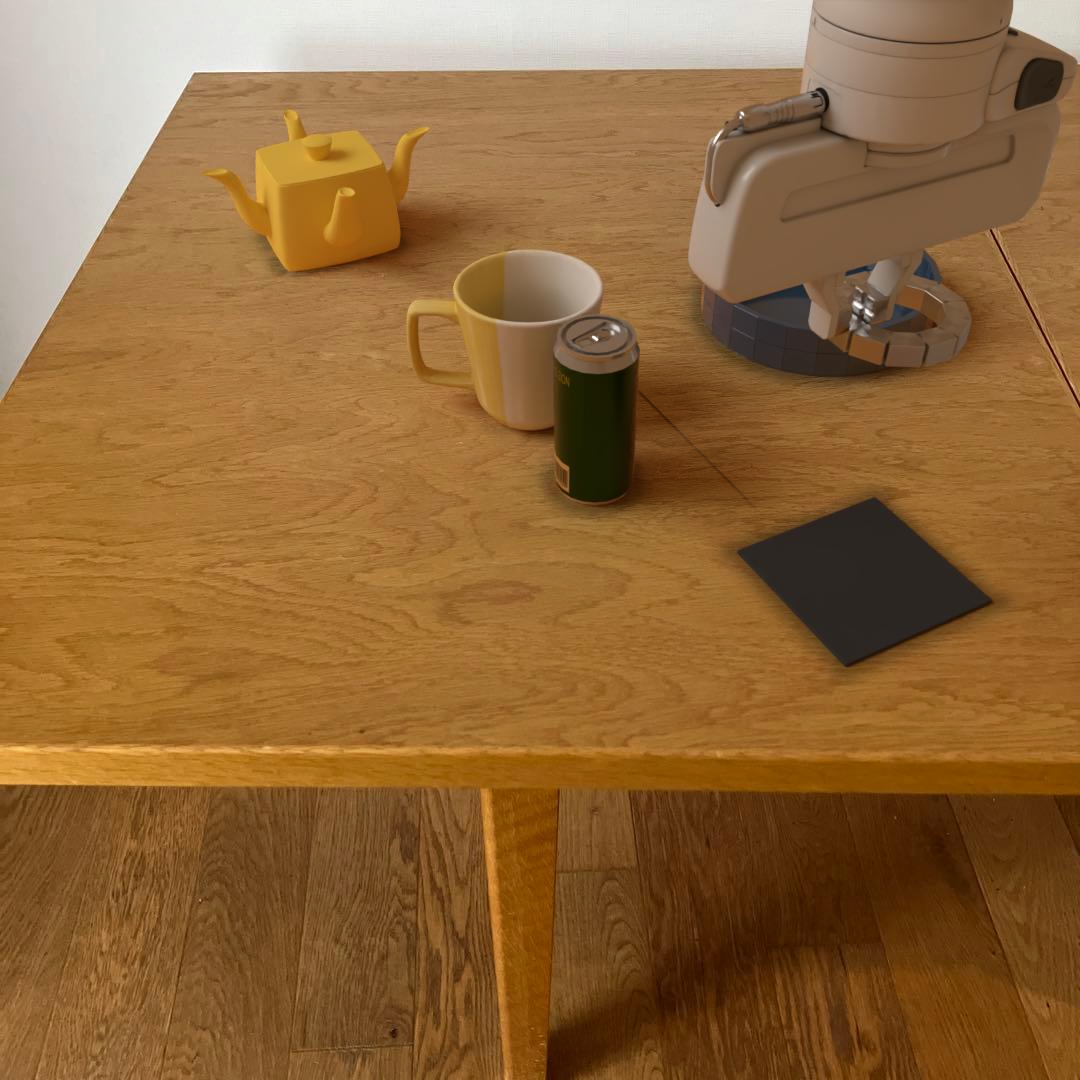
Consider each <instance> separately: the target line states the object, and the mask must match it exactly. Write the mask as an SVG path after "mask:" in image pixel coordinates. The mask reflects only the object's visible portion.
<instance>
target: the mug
mask: <svg viewBox="0 0 1080 1080" xmlns="http://www.w3.org/2000/svg"><path fill="white" fill-rule="evenodd" d="M452 290H453V291H452V293H453V298H454V300H444V299H443V300H441V299H428V298H427V299H426V298H421V299H416V300H414V301H412V302H411V304H410V305H409V306H408V309H407V312H406V322H405V323H406V324H405V329H406V330H405V331H406V332H405V333H406V336H405V337H406V345H407V352H408V356H409V362H410V365H411V368H412V371H413V373H414V375H415V376H416V378H417V379H418V380H419V381H421V382H422V383H423V382H424V383H425V384H429V385H435V386H442V387H449V388H457V389H464V390H469V391H474V392H475V393H476V397H477V400H478V402H479V404H480V406H481V408H482V409H484V411H485V412H486V413H487V414H488V415H489V416H491V417H492V418H493V419H494V420H496V421H497V422H498V423H500V424H501V425H503V426H506V427H507V428H511V429H514V430H519V431H526V432H527V431H529V432H533V431H543V430H547V429H550V428H552V427H553V428H554V378H553V348H554V345H555V342H556V340H557V333H558V330H559V328H560V327H561V326H562V325H563V324H564V323H565V322H567V321H569V320H571V319H573V318H576V317H579V316H583V315H591V314H601V310H602V303H603V299H604V294H605V293H604V292H605V288H604V282H603V280H602V277H601V276H600V273H598V271H597V270H595V268H594V267H592V266H591V265H590V264H588V263H587V262H585V261H584V260H581V259H579V258H578V257H575V256H572V255H569V254H567V253H561V252H557V251H553V250H552V251H551V250H545V249H531V248H530V249H513V250H508V251H503V252H498V253H495V254H491V255H488V256H485V257H483V258H480V259H478V260H476V261H474V262H472V263H470V264H469V265H467V266H466V267H465V268H463V269H462V270H461V272H459V274H458V275H457V276H456V278H455V280H454V282H453V287H452ZM425 316H427V317H428V316H429V317H442V318H445V319H448V320H450V321H452V322H454V324H457V325H458V326H459V327H460V329H461V334H462V338H463V341H464V342H463V343H464V346H465V350H466V351H465V352H466V355H467V359H468V364H469V367H470V371H453V370H452V371H451V370H443V369H442V370H441V369H435V368H431V367H430V366H428V365H426V363H425V362H424V359H423V356H422V352H421V349H420V339H419V336H420V335H419V319H420V318H419V317H425Z"/></svg>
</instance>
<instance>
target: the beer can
mask: <svg viewBox="0 0 1080 1080" xmlns="http://www.w3.org/2000/svg"><path fill="white" fill-rule="evenodd" d="M637 339H638V336H637V332H636V329H635V327H634V326H632V324H630V323H629V322H628V321H626V320H624V319H622V318H621V317H617V316H613V315H610V314H602V313H600V314H591V315H583V316H579V317H576V318H573V319H571V320H569V321H567V322H565V323H564V324H563V325H562V326H561V327H560V328H559V330H558V333H557V340H556V342H555V345H554V348H553V378H554V426H553V446H554V447H553V461H554V463H553V464H554V466H553V469H554V475H553V476H554V481H555V485H556V487H557V488H558V490H559V491H560V493H561V494H562V495H563V496H564V497H565V498H567V499H568V500H570V501H572V502H575V503H578V504H580V505H586V506H594V507H595V506H605V505H608V504H611V503H614V502H617V501H619V500H621V499H622V498H623V497H625V496H626V495H627V493H628V492H629V490H630V489H631V487H632V486H633V482H634V478H635V463H636V462H635V459H636V442H637V441H636V439H637V418H638V417H637V416H638V398H639V396H638V395H639V379H640V377H639V375H640V358H641V357H640V355H641V348H640V345H639V343H638V340H637Z"/></svg>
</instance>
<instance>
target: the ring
mask: <svg viewBox="0 0 1080 1080" xmlns="http://www.w3.org/2000/svg"><path fill="white" fill-rule="evenodd" d="M871 273H872V271H870V272H869V273H868V272H866V271H864V272H860V273H857V274H853V275H849V276H845V280H844V284H843V285H842V286H840V287H835V286H834V290H835V293H836V295H838V296H839V297H840V298H841V301H844V302H847V303H848V304H850V305H851V306H852V303H853V301H854V300H855V299H854V297H853V295H854V290H855V286H857V285H860V284H863V283H866V282H867V280H868V279H869V277H870V275H871ZM895 304H898V305H901V306H904V307H907V308H911V309H914V310H917V311H920V312H921V313H923V314H924V315H926V316H927V317H928V318H930V319H931V320H932V321H933V323H935V324H936V326H935V327H932V329H928V330H925V331H922V332H918V333H908V332H890V331H887V330H884V329H881V328H878V327H875V326H872V325H869V324H866V323H865V322H863V321H862V320H861V319H859V318H858V317H857V316H856V315H854V314H852V319H851V320H850V321H849V324H850V329H849V331H848V332H847V333H844V334H841V335H838V336H835V337H831V338H828V339H829V340H830V341H831V342H832V343H833V344H835V345H836V346H837V347H838V348H840V349H841V350H842V351H843V352H848V351H849V355H851V356H853V357H856V358H859V359H862V360H865V361H868V362H871V363H874V364H877V365H881V364H882V363H883V362H885V366H889V367H890V368H913V369H914V368H915V369H916V368H917V369H920V368H921V366H922V367H923V368H927V367H931V366H934V365H937V364H941V363H944V362H947V361H950V360H952V359H953V358H955V357H956V356H957V355H958V354H959V352H960V351H961V350H962V348H963V347H964V345H965V344H966V343H967V341H968V337H969V334H970V330H971V326H972V321H973V317H972V315H971V312H970V309H969V308H968V304H967V302H966V301H964V298H963V297H962V296H960V295H959V294H958V293H956V292H954V291H953V290H952V289H950V288H949V287H947V286H946V285H944V284H942V283H941V284H939V285H937V282H936V281H932V280H929V279H926V278H922V277H919V276H916V275H912V276H911V278H910V279H909V280H908V282H907V283H906V285H905V286H904V287H903V289H902V290H901V291H900V293H899V294H897V296H896V301H895Z"/></svg>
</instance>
